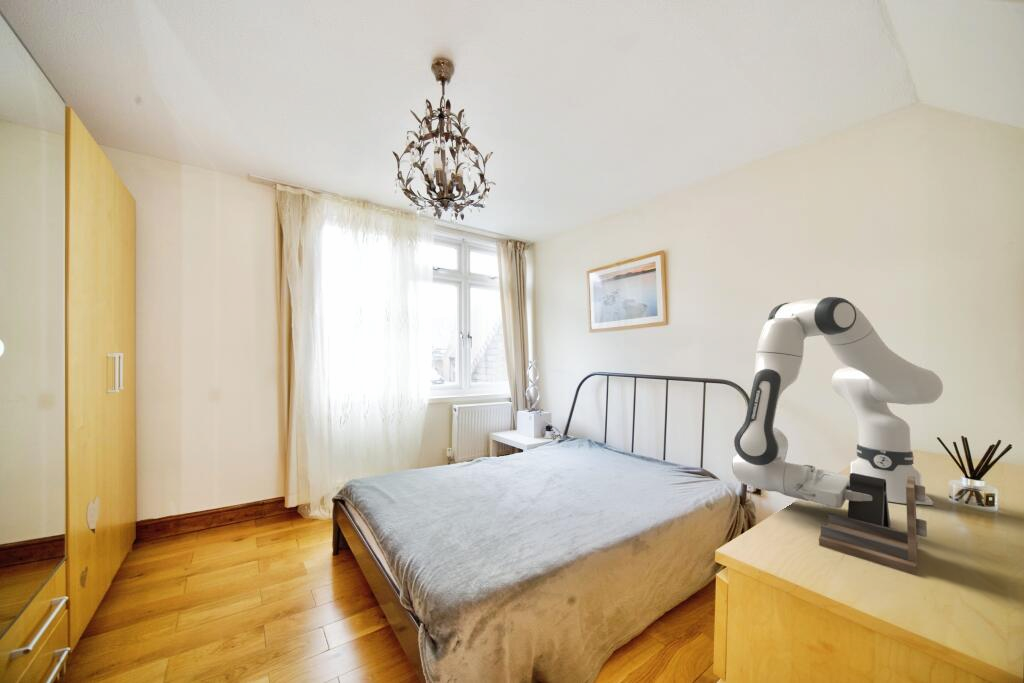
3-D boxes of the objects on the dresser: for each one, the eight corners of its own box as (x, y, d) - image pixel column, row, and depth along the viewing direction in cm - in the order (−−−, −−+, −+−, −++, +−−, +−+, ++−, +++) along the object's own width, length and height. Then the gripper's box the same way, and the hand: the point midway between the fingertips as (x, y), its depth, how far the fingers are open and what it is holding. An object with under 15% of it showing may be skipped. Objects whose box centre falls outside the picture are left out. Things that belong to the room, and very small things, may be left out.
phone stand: (881, 536, 83) (879, 483, 83) (846, 526, 88) (845, 475, 88) (890, 526, 88) (889, 476, 88) (857, 517, 93) (856, 470, 93)
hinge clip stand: (831, 525, 88) (829, 460, 89) (927, 551, 76) (924, 476, 77) (819, 545, 78) (817, 472, 79) (927, 578, 66) (924, 492, 67)
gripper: (791, 478, 91) (868, 494, 81) (809, 463, 104) (876, 475, 94) (792, 503, 91) (869, 523, 80) (809, 485, 104) (877, 500, 94)
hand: (873, 497), depth 87 cm, fingers closed on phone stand
